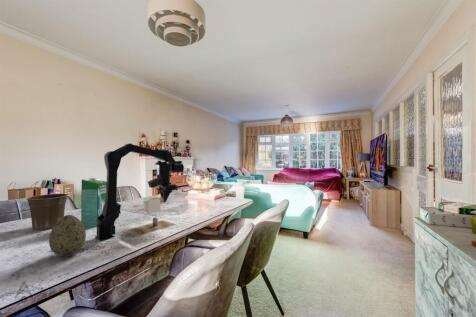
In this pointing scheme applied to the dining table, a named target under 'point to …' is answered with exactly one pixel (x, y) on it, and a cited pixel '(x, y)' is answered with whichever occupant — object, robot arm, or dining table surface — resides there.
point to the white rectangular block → (153, 204)
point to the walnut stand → (148, 227)
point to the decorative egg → (67, 236)
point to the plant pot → (46, 210)
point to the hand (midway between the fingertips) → (164, 201)
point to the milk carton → (92, 200)
